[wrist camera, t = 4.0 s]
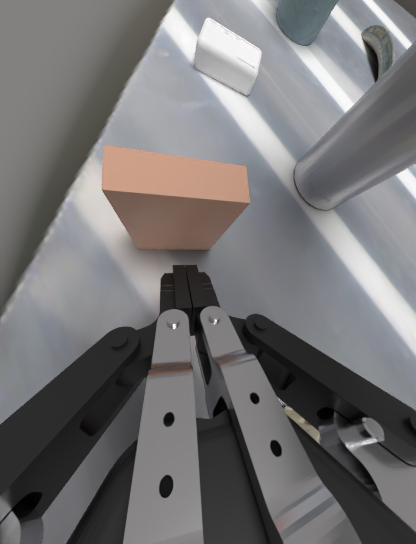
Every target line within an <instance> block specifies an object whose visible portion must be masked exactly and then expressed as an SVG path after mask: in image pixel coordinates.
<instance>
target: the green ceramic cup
mask: <svg viewBox="0 0 416 544" xmlns="http://www.w3.org/2000/svg"><path fill="white" fill-rule="evenodd" d="M337 2H338V0H281V1H280V4H279V7H278V10H277V15H276V18H277V22H278V25H279V27H280V28H281V30H282V31H283V33H284V34H285V35H286V36H287V37H288V38H290V39H291V40H292V41H294V42H295V43H297V44H300V45H310V44H311V43H312V42H313V41H314V39H315V38H316V36H317V35H318V33H319V31H320V30H321V28H322V27H323V25H324V24H325V22H326V20H327V19H328V17H329V15H330V13H331V11H332V10H333V8H334V7H335V5H336V4H337Z"/></svg>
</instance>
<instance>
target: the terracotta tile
mask: <svg viewBox="0 0 416 544" xmlns="http://www.w3.org/2000/svg"><path fill="white" fill-rule="evenodd" d="M102 191H103V192H104V194H105V196H106V197H107V199H108V201H109V202H110V204H111V205H112V207H113V209H114V210H115V212H116V214H117V215H118V217H119V218H120V220H121V222H122V223H123V225H124V227H125V228H126V230H127V232H128V233H129V235H130V236H131V238H132V240H133V241H134V243H135V245H136V246H137V248H138V249H187V250H210V248H211V247H212V246H213V245H214V244H215V243H216V242H217V240H218V239H219V238H220V237H221V236H222V235H223V233H224V232H225V231H226V230H227V229H228V228H229V227H230V225H231V224H232V223H233V222H234V221H235V220H236V219H237V217H238V216H239V215H240V214H241V213H242V212H243V210H244V209H245V208H246V207H247V206H248V205H249V204H250V198H249V189H248V179H247V170H246V166H240V165H234V164H227V163H221V162H214V161H207V160H201V159H194V158H188V157H181V156H174V155H168V154H161V153H155V152H148V151H141V150H135V149H128V148H122V147H115V146H108V145H103V168H102Z"/></svg>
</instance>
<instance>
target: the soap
mask: <svg viewBox="0 0 416 544" xmlns="http://www.w3.org/2000/svg"><path fill="white" fill-rule="evenodd" d="M261 57H262V52H261V50H260V49H259V48H257V47H256V46H254V45H253V44H251V43H249V42H248V41H246V40H244V39H243V38H241V37H240V36H238V35H236V34H235V33H233V32H232V31H230V30H228V29H227V28H225V27H224V26H222V25H220V24H219V23H217V22H215V21H214V20H212V19H211V18H207V19H206V20H205V22H204V24H203V27H202V30H201V32H200V35H199V37H198V40H197V44H196V53H195V68H196V69H198V70H199V71H201V72H203V73H205V74H207V75H208V76H210V77H212V78H214V79H216V80H218V81H219V82H221V83H223V84H225V85H227V86H229V87H231V88H232V89H234V90H236V91H238V92H240V93H242V94H243V95H245V96H248V95H249V94H250V92H251V90H252V87H253V85H254V82H255V80H256V77H257V73H258V68H259V64H260V60H261Z"/></svg>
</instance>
